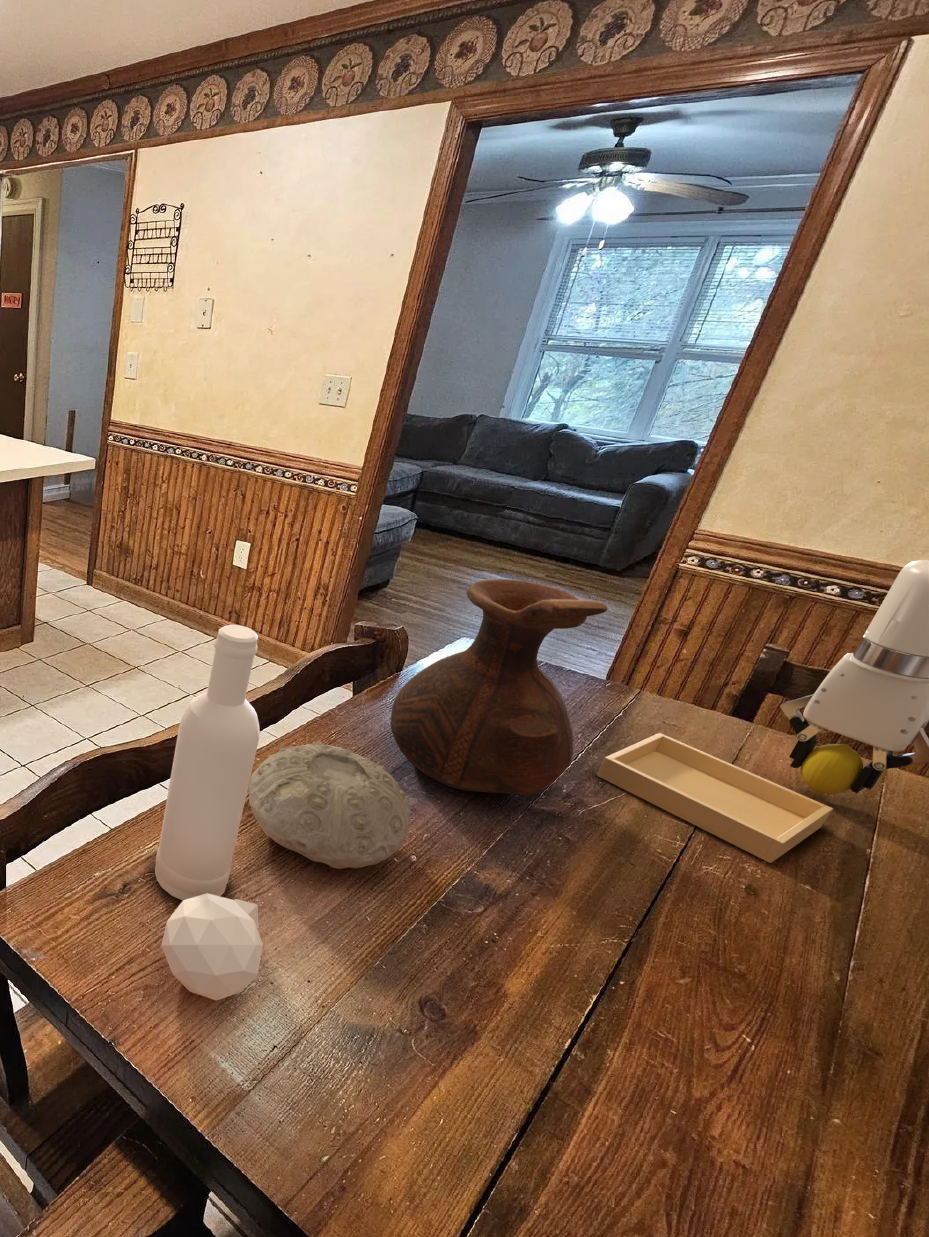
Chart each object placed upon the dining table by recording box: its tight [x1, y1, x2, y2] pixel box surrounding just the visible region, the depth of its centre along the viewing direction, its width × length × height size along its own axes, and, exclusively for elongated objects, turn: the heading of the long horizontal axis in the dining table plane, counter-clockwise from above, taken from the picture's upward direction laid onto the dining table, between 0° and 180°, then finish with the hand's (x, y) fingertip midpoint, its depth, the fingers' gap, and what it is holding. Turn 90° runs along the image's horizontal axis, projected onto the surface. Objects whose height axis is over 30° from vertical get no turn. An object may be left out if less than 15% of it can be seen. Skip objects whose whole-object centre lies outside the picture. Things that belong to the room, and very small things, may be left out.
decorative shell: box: [247, 741, 413, 870], centre depth 88 cm, size 18×18×10 cm
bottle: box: [154, 624, 261, 901], centre depth 76 cm, size 8×8×30 cm
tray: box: [596, 732, 834, 864], centre depth 100 cm, size 20×16×3 cm
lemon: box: [800, 743, 864, 795], centre depth 101 cm, size 6×6×8 cm
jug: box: [390, 578, 608, 795], centre depth 98 cm, size 22×22×30 cm
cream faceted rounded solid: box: [160, 893, 264, 1001], centre depth 69 cm, size 9×9×12 cm
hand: (827, 775), depth 102 cm, fingers closed on lemon, 5 cm apart
